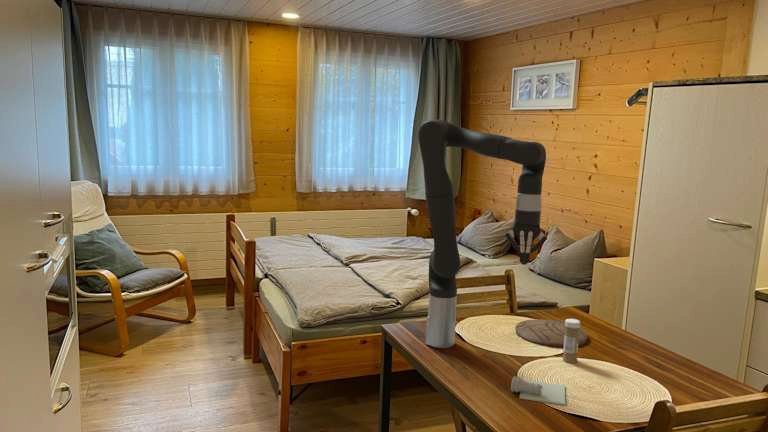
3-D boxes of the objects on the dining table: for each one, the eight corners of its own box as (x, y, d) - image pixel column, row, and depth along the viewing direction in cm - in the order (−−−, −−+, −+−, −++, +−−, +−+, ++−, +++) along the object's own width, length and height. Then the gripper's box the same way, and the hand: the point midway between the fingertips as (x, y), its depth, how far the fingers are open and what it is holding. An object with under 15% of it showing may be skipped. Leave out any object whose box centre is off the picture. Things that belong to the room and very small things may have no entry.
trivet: (535, 350, 196) (536, 345, 196) (503, 325, 220) (503, 320, 220) (601, 346, 202) (601, 341, 202) (563, 322, 226) (563, 317, 226)
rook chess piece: (511, 377, 162) (541, 383, 159) (515, 374, 166) (543, 380, 163) (509, 393, 162) (539, 400, 158) (513, 389, 166) (541, 396, 162)
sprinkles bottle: (579, 361, 187) (583, 321, 185) (570, 364, 184) (574, 323, 182) (568, 356, 191) (571, 317, 189) (559, 359, 188) (562, 319, 186)
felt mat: (519, 398, 160) (519, 396, 160) (521, 380, 171) (521, 379, 171) (565, 405, 157) (565, 403, 157) (564, 386, 168) (564, 385, 168)
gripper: (505, 208, 175) (501, 264, 178) (550, 211, 171) (546, 269, 174) (506, 205, 182) (503, 259, 185) (550, 208, 179) (546, 263, 181)
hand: (524, 264), depth 179 cm, fingers closed
